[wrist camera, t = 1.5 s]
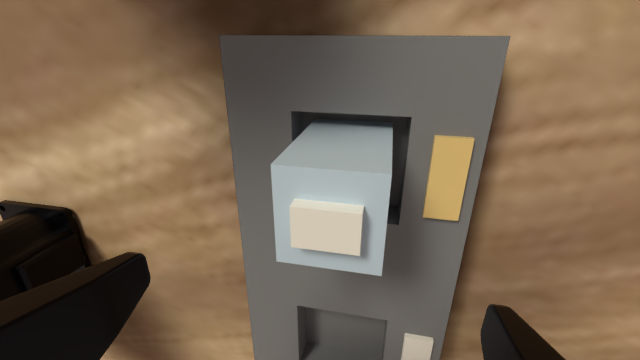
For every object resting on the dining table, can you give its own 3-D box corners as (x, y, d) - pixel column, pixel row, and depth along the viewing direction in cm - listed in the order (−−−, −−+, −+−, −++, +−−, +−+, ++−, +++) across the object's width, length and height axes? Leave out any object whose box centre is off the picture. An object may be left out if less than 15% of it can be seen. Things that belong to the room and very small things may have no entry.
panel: (269, 358, 26) (256, 391, 24) (242, 35, 17) (215, 35, 14) (422, 388, 24) (425, 429, 22) (492, 36, 15) (512, 36, 12)
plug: (316, 186, 19) (271, 271, 12) (315, 118, 17) (264, 170, 10) (386, 193, 18) (380, 287, 11) (393, 122, 16) (391, 182, 10)
